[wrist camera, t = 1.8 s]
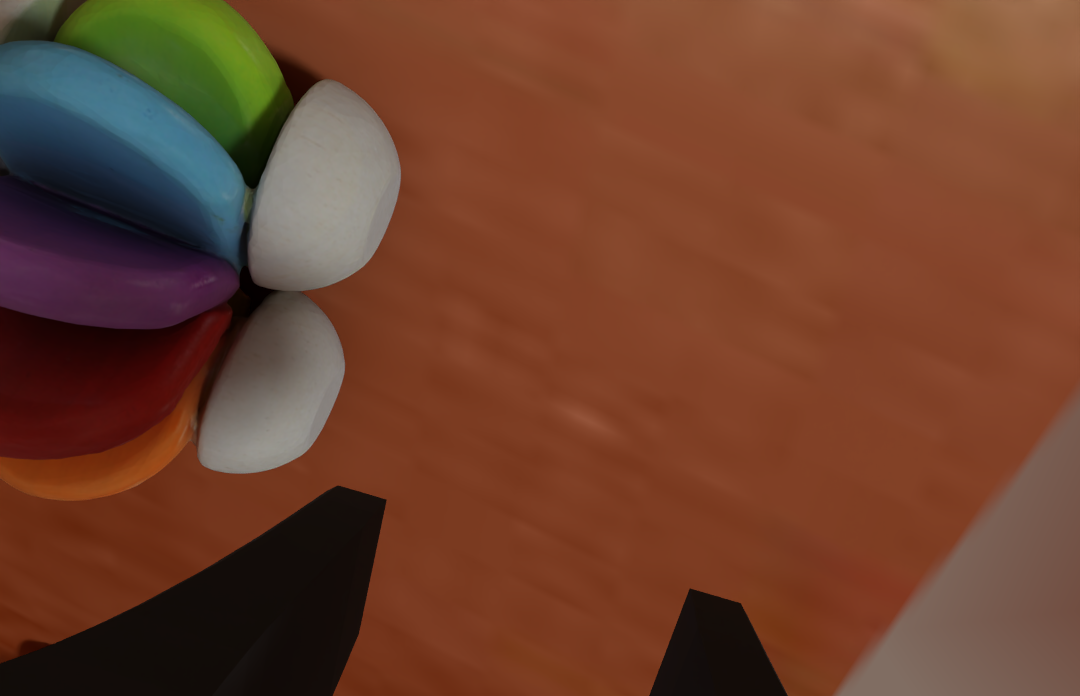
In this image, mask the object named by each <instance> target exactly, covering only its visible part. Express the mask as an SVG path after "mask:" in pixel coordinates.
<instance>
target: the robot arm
mask: <svg viewBox="0 0 1080 696" xmlns="http://www.w3.org/2000/svg"><path fill="white" fill-rule="evenodd" d="M385 505H386V499H382V498H379V497H376V496H372V495H369V494H365V493H362V492H359V491H355V490H352V489H348V488H345V487H341V486H336V487H334V488H332V489H330V490H328V491H326V492H325V493H323V494H322V495H320V496H319V497H317V498H316V499H314V500H313V501H312V502H310V503H309V504H307V505H306V506H304V507H303V508H301V509H300V510H298V511H297V512H295V513H294V514H292V515H291V516H289V517H288V518H286V519H285V520H283V521H282V522H280V523H279V524H277V525H276V526H274V527H273V528H271V529H270V530H268V531H266V532H265V533H263V534H262V535H260V536H259V537H257V538H256V539H254V540H252V541H251V542H249V543H247V544H246V545H244V546H242V547H241V548H239V549H238V550H236V551H234V552H233V553H231V554H229V555H228V556H226V557H224V558H223V559H221V560H219V561H218V562H216V563H215V564H213V565H211V566H210V567H208V568H206V569H204V570H203V571H201V572H199V573H197V574H195V575H194V576H192V577H190V578H188V579H186V580H184V581H182V582H181V583H179V584H177V585H175V586H173V587H171V588H170V589H168V590H166V591H164V592H162V593H160V594H158V595H157V596H155V597H153V598H151V599H149V600H147V601H145V602H144V603H142V604H140V605H138V606H136V607H134V608H132V609H130V610H128V611H125V612H123V613H121V614H119V615H117V616H115V617H113V618H111V619H109V620H107V621H105V622H102V623H100V624H98V625H96V626H94V627H92V628H89V629H87V630H85V631H82V632H80V633H78V634H76V635H73V636H71V637H69V638H66V639H64V640H62V641H59V642H57V643H55V644H52V645H50V646H47V647H45V648H42V649H40V650H37V651H34V652H31V653H29V654H26V655H23V656H20V657H17V658H15V659H12V660H9V661H6V662H3V663H1V664H0V696H333V693H334V691H335V689H336V686H337V684H338V682H339V679H340V677H341V675H342V672H343V670H344V668H345V665H346V663H347V660H348V658H349V656H350V653H351V651H352V648H353V646H354V644H355V641H356V639H357V637H358V634H359V630H360V625H361V621H362V616H363V611H364V606H365V601H366V596H367V592H368V587H369V582H370V577H371V572H372V568H373V563H374V558H375V553H376V548H377V543H378V539H379V534H380V529H381V524H382V519H383V515H384V510H385ZM649 696H788V695H787V693H786V691H785V689H784V687H783V686H782V684H781V682H780V680H779V678H778V676H777V674H776V672H775V670H774V668H773V666H772V664H771V662H770V660H769V658H768V656H767V654H766V652H765V650H764V648H763V646H762V644H761V642H760V640H759V638H758V636H757V634H756V632H755V630H754V628H753V626H752V624H751V622H750V620H749V618H748V616H747V614H746V613H745V611H744V609H743V607H742V605H741V603H738V602H734V601H731V600H728V599H724V598H721V597H717V596H714V595H710V594H707V593H704V592H700V591H697V590H693V589H690V590H689V592H688V595H687V597H686V600H685V603H684V605H683V608H682V611H681V613H680V616H679V619H678V621H677V624H676V627H675V629H674V632H673V634H672V637H671V640H670V642H669V645H668V648H667V650H666V653H665V656H664V658H663V661H662V664H661V666H660V669H659V671H658V674H657V677H656V679H655V682H654V685H653V687H652V690H651V693H650V695H649Z"/></svg>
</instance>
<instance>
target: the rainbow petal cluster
mask: <svg viewBox="0 0 1080 696" xmlns="http://www.w3.org/2000/svg"><path fill="white" fill-rule="evenodd" d="M400 180H401V168H400V163H399V159H398V154H397V151H396V148H395V146H394V143H393V140H392V138H391V136H390V134H389V132H388V130H387V128H386V127H385V125H384V123H383V122H382V120H381V119H380V118H379V116H378V115H377V114H376V113H375V111H374V110H373V109H372V108H371V107H370V106H369V105H368V103H367V102H366V101H365V100H363V99H362V98H361V97H360V96H358V95H357V94H356V93H355V92H353V91H352V90H350V89H349V88H347V87H346V86H344V85H343V84H341V83H339V82H337V81H334V80H330V79H324V80H322V81H319V82H317V83H316V84H314V85H313V86H312V87H311V88H310V89H309V90H308V91H307V92H306V93H305V94H304V96H303V97H302V98H301V99H300V101H299V102H298V103H297V105H296V106H295V107H294V102H293V98H292V95H291V92H290V90H289V89H288V87H287V85H286V82H285V80H284V77H283V75H282V73H281V71H280V69H279V67H278V64H277V62H276V61H275V59H274V58H273V56H272V55H271V53H270V51H269V50H268V48H267V47H266V45H265V44H264V43H263V41H262V40H261V38H260V37H259V36H258V34H257V33H256V32H255V30H254V29H253V28H252V27H251V26H250V25H249V23H248V22H247V21H246V20H245V19H244V18H243V17H242V16H241V15H240V14H239V13H238V12H237V11H236V10H234V9H233V8H232V7H231V6H230V5H229V4H227V3H226V2H225V1H223V0H0V479H2V480H3V481H4V482H6V483H7V484H9V485H10V486H12V487H14V488H16V489H17V490H19V491H21V492H23V493H26V494H28V495H32V496H36V497H41V498H45V499H54V500H62V501H78V500H89V499H95V498H100V497H106V496H109V495H113V494H117V493H120V492H123V491H125V490H128V489H130V488H133V487H135V486H137V485H139V484H140V483H142V482H144V481H145V480H147V479H148V478H150V477H152V476H153V475H155V474H156V473H158V472H159V471H160V470H161V469H163V468H164V467H165V466H166V465H167V464H168V463H170V462H171V461H172V460H173V459H174V458H175V457H176V456H177V455H178V454H179V453H180V451H181V450H182V449H183V448H184V446H185V445H186V444H187V443H188V442H189V441H192V442H193V443H194V445H195V446H196V447H197V456H198V459H199V461H200V462H201V464H202V465H203V466H205V467H207V468H209V469H211V470H215V471H220V472H225V473H255V472H261V471H266V470H270V469H273V468H276V467H279V466H281V465H284V464H286V463H288V462H290V461H292V460H294V459H296V458H298V457H299V456H301V455H302V454H304V453H305V452H306V451H307V450H308V449H309V448H310V447H311V446H312V444H313V443H314V441H315V440H316V438H317V437H318V435H319V433H320V432H321V430H322V428H323V426H324V424H325V422H326V420H327V418H328V416H329V414H330V412H331V409H332V407H333V405H334V403H335V400H336V398H337V395H338V392H339V389H340V386H341V383H342V380H343V376H344V372H345V361H344V355H343V349H342V346H341V343H340V340H339V337H338V335H337V333H336V331H335V329H334V327H333V325H332V323H331V322H330V320H329V318H328V317H327V316H326V314H325V313H324V312H323V311H322V310H321V309H320V308H319V307H318V306H317V305H316V304H315V303H314V302H313V301H312V300H311V299H310V298H308V297H307V296H306V295H304V294H303V293H302V292H300V291H304V290H312V289H317V288H322V287H325V286H328V285H331V284H334V283H336V282H338V281H341V280H343V279H345V278H347V277H349V276H350V275H352V274H353V273H355V272H356V271H358V270H359V269H360V268H362V267H363V266H364V265H365V264H366V263H367V262H368V261H369V260H370V259H371V257H372V256H373V254H374V253H375V251H376V249H377V248H378V246H379V244H380V242H381V240H382V238H383V236H384V234H385V232H386V229H387V227H388V224H389V222H390V219H391V217H392V214H393V211H394V207H395V204H396V201H397V197H398V192H399V188H400ZM244 266H248V268H249V272H250V275H251V278H252V281H253V282H254V283H255V284H257V285H258V286H261V287H265V288H269V289H275V291H273V292H271V293H270V294H269V295H267V296H266V297H265V298H264V299H263V301H262V303H261V304H260V305H259V306H258V307H257V308H256V309H255V310H254V311H253V312H252V313H251V314H250V316H249V310H250V304H251V299H250V297H248V296H246V295H245V294H244V293H243V292H242V290H241V289H240V288H239V287H240V280H239V278H240V271H241V269H242V267H244ZM248 316H249V317H248Z"/></svg>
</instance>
